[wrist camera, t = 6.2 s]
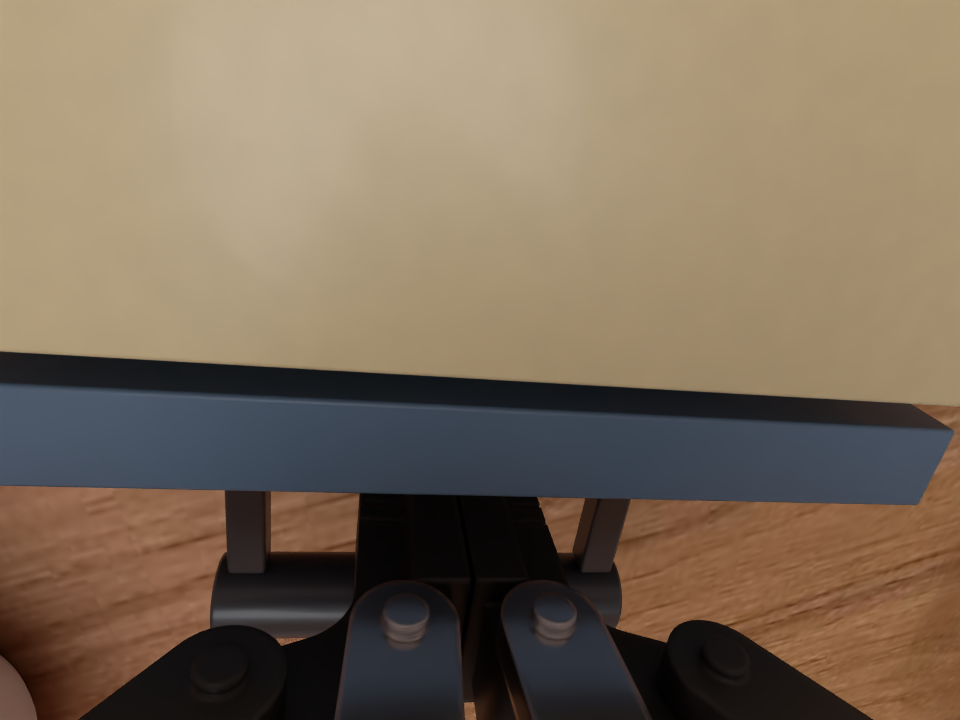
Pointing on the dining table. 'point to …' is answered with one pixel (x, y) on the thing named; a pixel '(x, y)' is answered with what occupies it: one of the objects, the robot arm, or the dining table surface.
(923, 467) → the drawer
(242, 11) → the cabinet
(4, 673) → the mug
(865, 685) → the dining table surface
